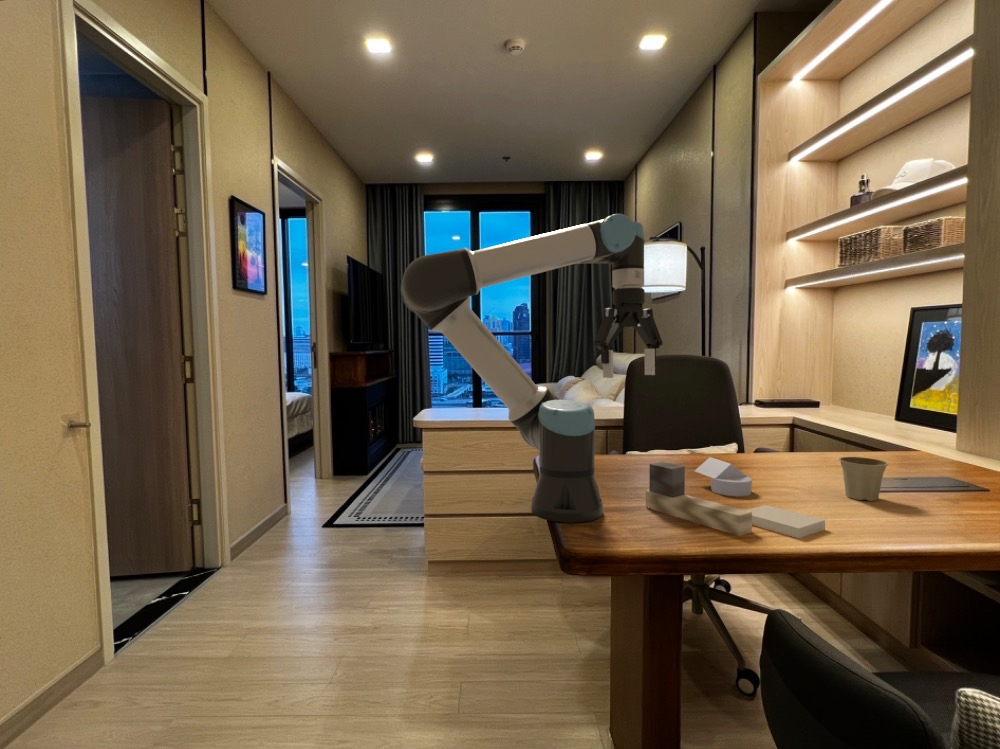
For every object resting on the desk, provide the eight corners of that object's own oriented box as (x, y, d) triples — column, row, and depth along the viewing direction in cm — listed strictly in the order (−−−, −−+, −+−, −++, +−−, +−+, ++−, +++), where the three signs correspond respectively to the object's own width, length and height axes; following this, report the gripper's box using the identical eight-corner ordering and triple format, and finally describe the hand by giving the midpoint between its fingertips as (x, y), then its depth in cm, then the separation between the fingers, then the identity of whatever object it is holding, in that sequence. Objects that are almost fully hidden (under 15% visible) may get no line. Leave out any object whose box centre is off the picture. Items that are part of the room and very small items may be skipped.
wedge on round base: (694, 484, 138) (726, 497, 125) (694, 458, 137) (726, 468, 125) (724, 481, 140) (759, 494, 127) (725, 456, 139) (760, 466, 127)
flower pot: (890, 497, 124) (891, 460, 124) (883, 506, 117) (884, 467, 117) (842, 490, 130) (843, 454, 130) (834, 498, 124) (834, 461, 123)
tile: (739, 523, 108) (798, 540, 98) (739, 511, 108) (798, 528, 98) (765, 515, 113) (824, 531, 103) (765, 504, 113) (825, 520, 103)
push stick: (751, 532, 102) (752, 480, 101) (739, 537, 100) (740, 483, 99) (657, 505, 120) (657, 460, 119) (645, 508, 118) (645, 463, 117)
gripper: (598, 284, 120) (600, 379, 121) (676, 288, 133) (677, 374, 134) (577, 288, 127) (579, 378, 128) (653, 291, 139) (654, 373, 140)
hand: (629, 376), depth 131 cm, fingers open, 13 cm apart
